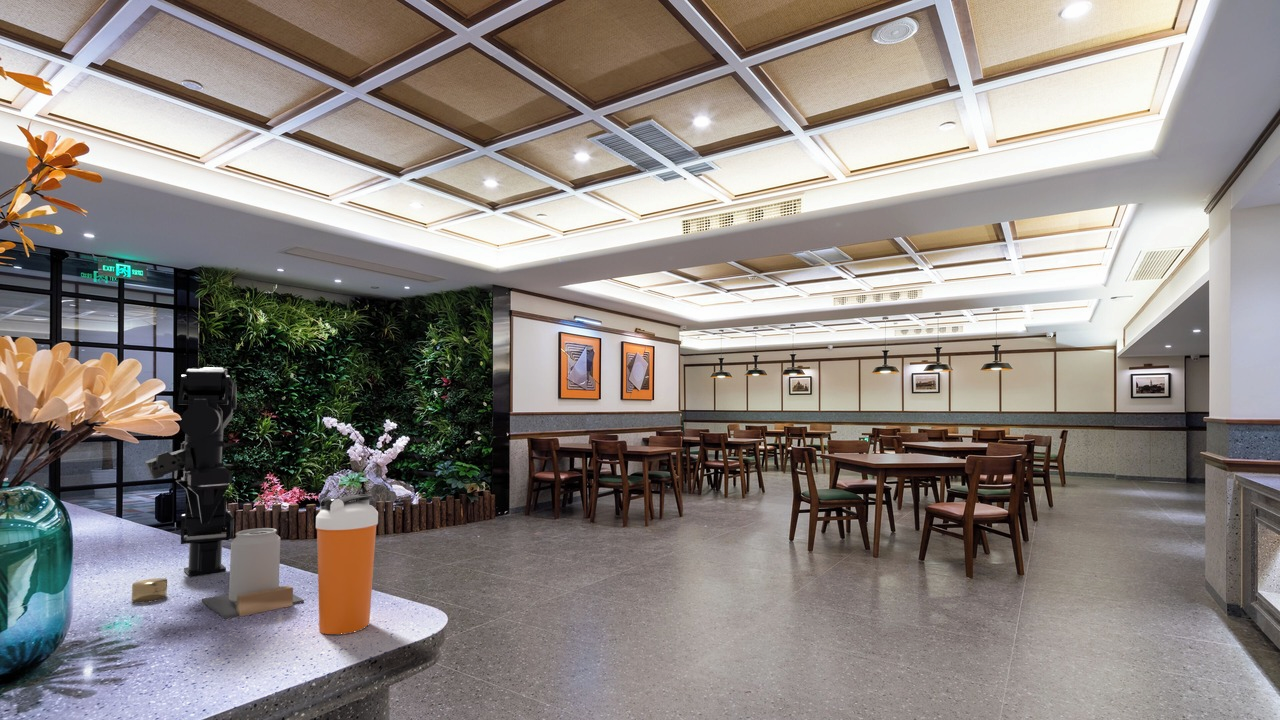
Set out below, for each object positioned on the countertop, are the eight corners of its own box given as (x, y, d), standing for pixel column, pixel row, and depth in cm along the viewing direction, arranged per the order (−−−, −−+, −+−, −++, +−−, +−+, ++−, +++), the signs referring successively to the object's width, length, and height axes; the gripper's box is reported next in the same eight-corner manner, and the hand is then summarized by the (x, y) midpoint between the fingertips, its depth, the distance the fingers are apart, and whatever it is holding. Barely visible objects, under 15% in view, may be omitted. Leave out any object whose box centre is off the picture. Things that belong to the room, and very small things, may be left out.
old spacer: (130, 598, 117) (131, 581, 117) (164, 593, 120) (165, 576, 120) (132, 605, 113) (133, 587, 113) (168, 599, 116) (168, 582, 117)
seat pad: (201, 600, 115) (201, 598, 115) (276, 587, 124) (276, 584, 124) (224, 618, 105) (224, 616, 105) (303, 602, 114) (303, 599, 114)
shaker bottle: (387, 624, 102) (390, 495, 104) (333, 642, 95) (337, 502, 96) (354, 614, 107) (357, 491, 109) (300, 630, 100) (304, 497, 101)
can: (283, 592, 119) (285, 525, 119) (272, 604, 111) (274, 533, 112) (236, 595, 117) (239, 527, 117) (222, 608, 109) (225, 535, 110)
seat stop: (236, 613, 108) (236, 595, 108) (288, 603, 114) (288, 585, 114) (239, 616, 106) (240, 597, 107) (292, 605, 112) (293, 587, 112)
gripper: (143, 435, 124) (139, 519, 123) (157, 439, 110) (153, 533, 109) (212, 433, 132) (209, 512, 130) (234, 436, 118) (230, 524, 117)
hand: (200, 520), depth 122 cm, fingers open, 9 cm apart
